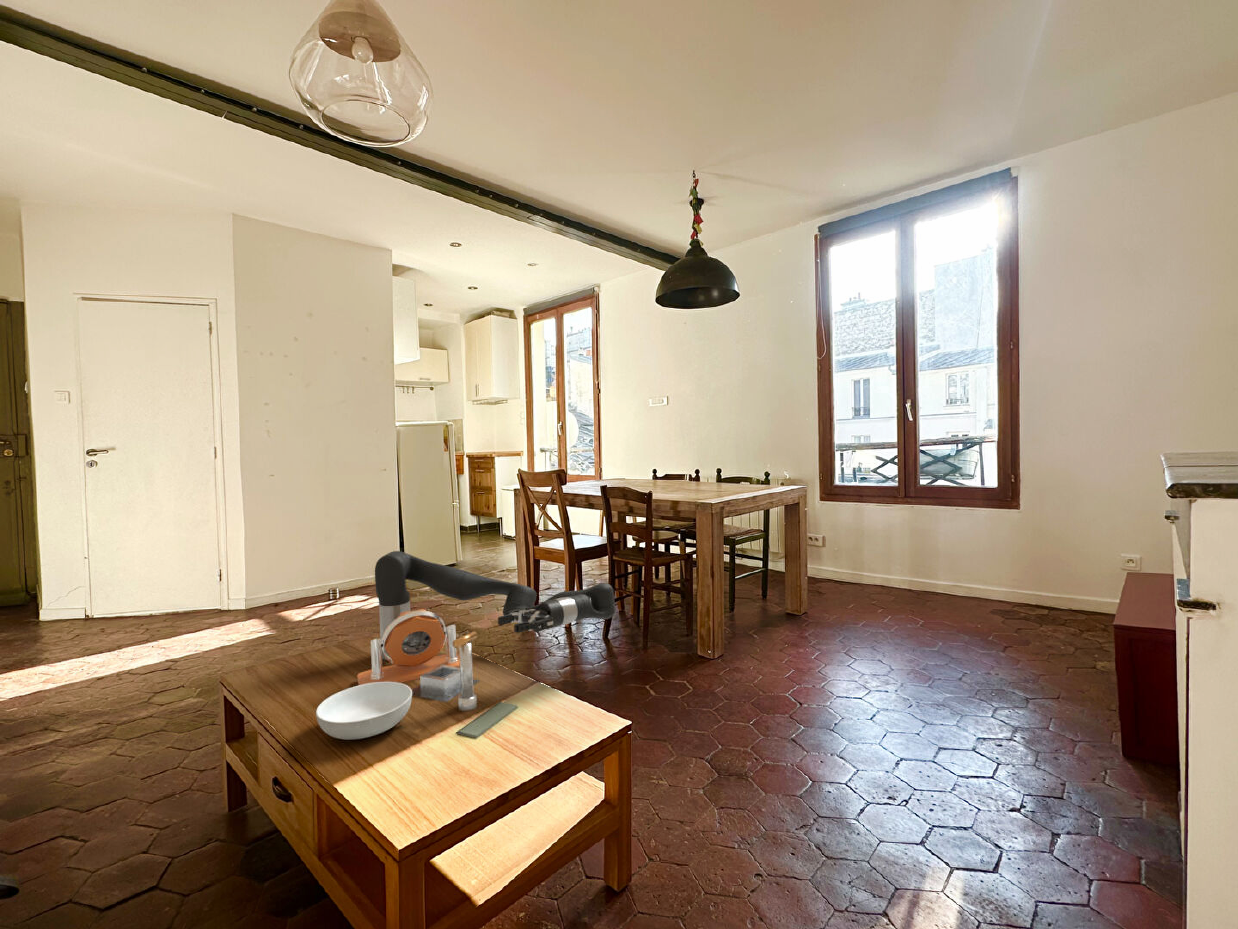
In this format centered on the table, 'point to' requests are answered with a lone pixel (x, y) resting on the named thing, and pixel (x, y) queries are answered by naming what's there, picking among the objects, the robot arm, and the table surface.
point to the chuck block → (440, 684)
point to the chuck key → (466, 672)
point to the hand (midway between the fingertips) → (506, 625)
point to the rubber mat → (487, 720)
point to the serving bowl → (364, 710)
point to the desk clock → (411, 648)
